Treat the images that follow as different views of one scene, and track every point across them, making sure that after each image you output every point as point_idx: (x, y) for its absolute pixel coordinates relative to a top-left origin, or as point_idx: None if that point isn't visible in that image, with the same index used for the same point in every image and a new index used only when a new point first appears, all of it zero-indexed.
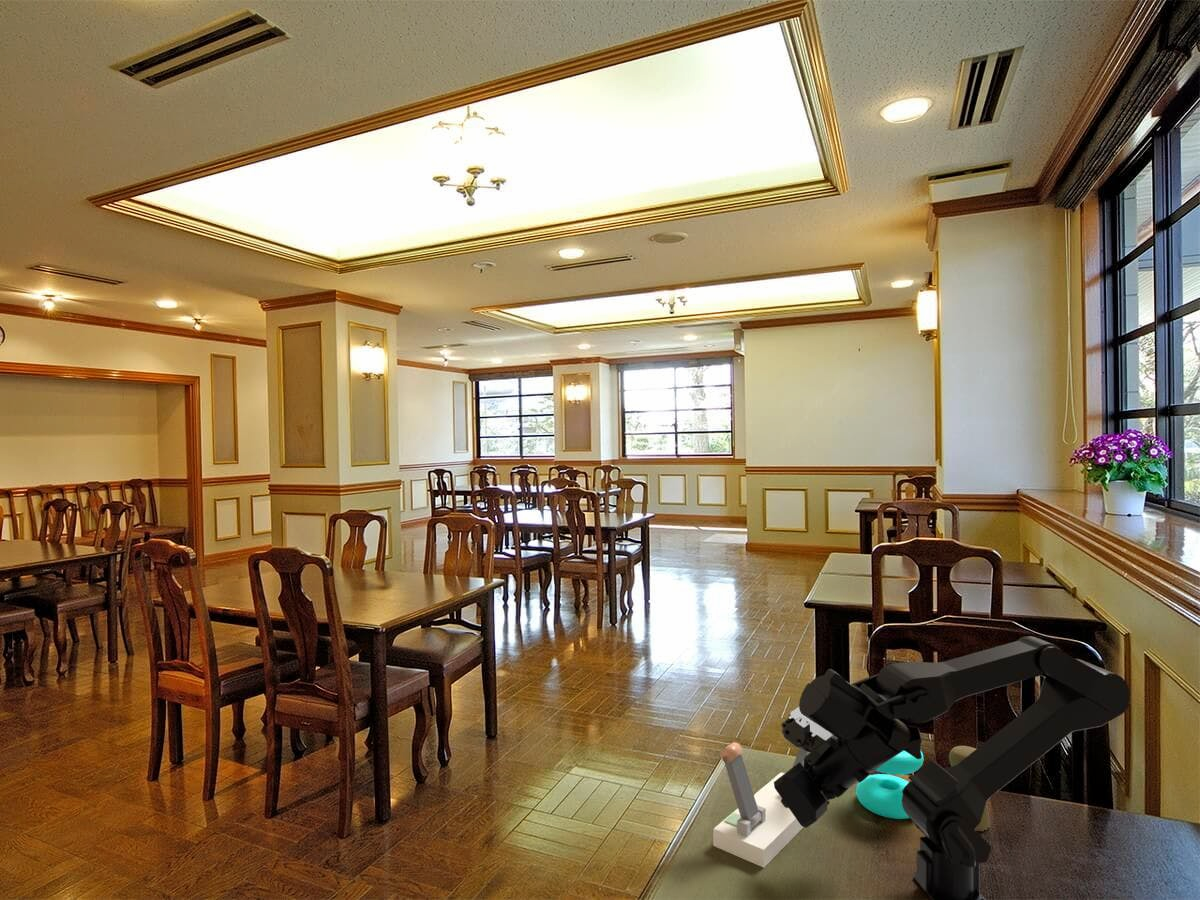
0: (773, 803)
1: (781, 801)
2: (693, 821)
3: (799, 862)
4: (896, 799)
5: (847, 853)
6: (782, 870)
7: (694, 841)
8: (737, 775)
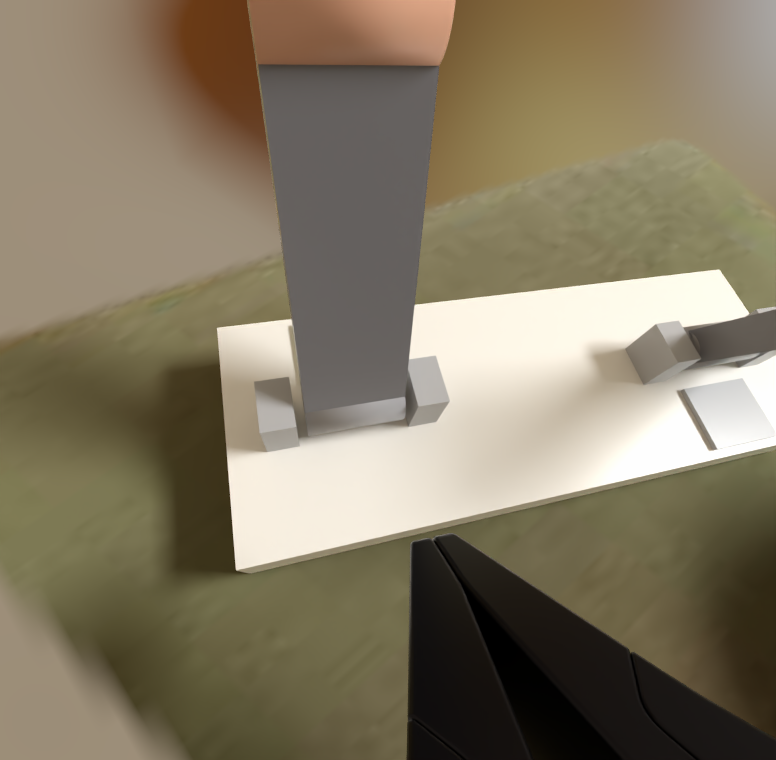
0: (555, 368)
1: (410, 549)
2: None
3: (398, 647)
4: None
5: None
6: (294, 638)
7: (207, 308)
8: (303, 200)
